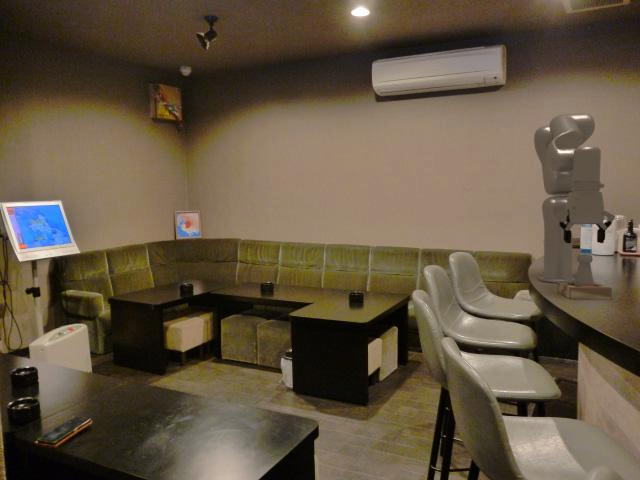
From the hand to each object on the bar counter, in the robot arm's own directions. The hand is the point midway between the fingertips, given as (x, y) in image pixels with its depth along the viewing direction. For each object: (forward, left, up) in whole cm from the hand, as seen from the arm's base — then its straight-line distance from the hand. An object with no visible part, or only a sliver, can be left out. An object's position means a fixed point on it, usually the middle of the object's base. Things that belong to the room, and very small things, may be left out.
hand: (584, 242), depth 158 cm
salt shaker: (0, 0, -17) cm, 17 cm away
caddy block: (+1, 0, -17) cm, 17 cm away
